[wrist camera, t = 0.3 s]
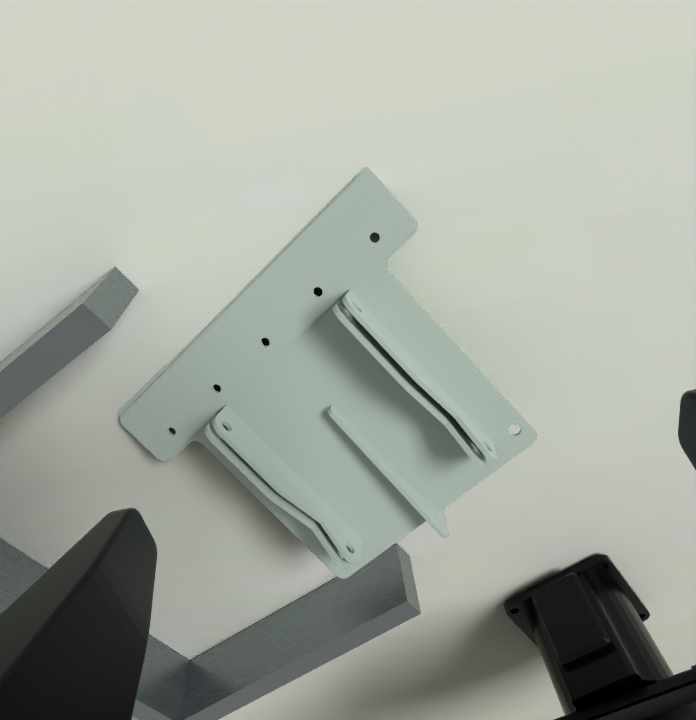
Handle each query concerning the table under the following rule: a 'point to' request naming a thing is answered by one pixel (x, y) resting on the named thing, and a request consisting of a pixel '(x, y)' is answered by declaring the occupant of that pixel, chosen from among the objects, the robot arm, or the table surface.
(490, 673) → the table surface
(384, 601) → the rail dock
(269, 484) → the metal bracket
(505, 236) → the table surface
